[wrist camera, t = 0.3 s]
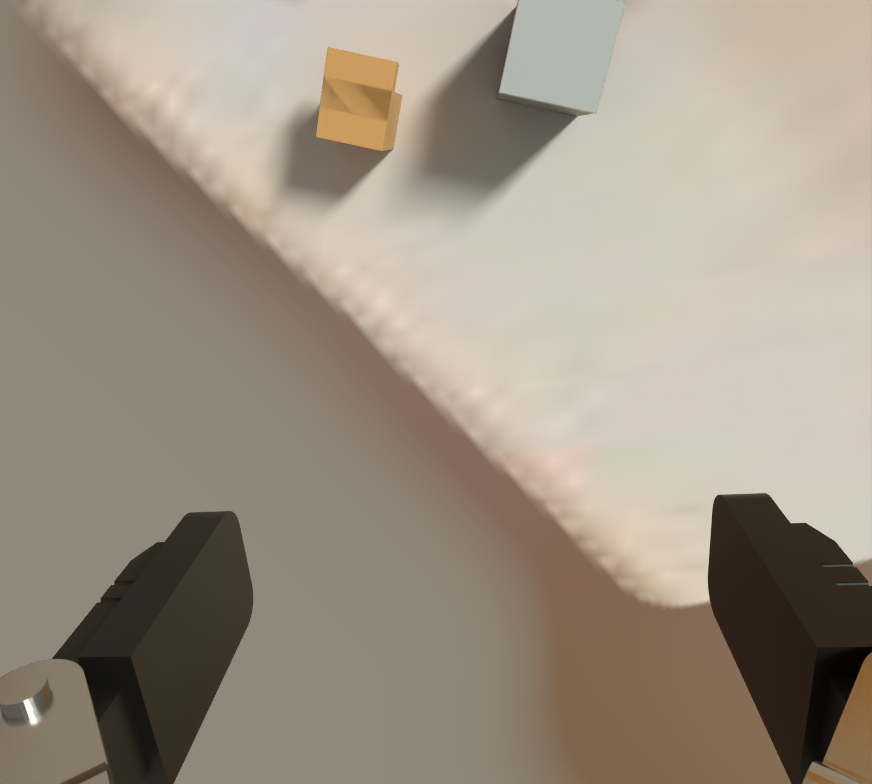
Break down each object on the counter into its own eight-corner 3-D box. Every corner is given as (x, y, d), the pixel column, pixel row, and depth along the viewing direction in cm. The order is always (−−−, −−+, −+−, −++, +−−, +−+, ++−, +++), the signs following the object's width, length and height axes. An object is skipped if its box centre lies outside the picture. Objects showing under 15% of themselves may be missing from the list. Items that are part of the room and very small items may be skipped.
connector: (516, 6, 32) (523, -20, 27) (600, 24, 32) (625, 2, 27) (496, 98, 34) (499, 92, 28) (577, 116, 34) (596, 112, 28)
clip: (393, 149, 35) (382, 151, 31) (333, 136, 35) (315, 136, 31) (406, 69, 33) (396, 61, 30) (344, 56, 33) (327, 47, 30)
